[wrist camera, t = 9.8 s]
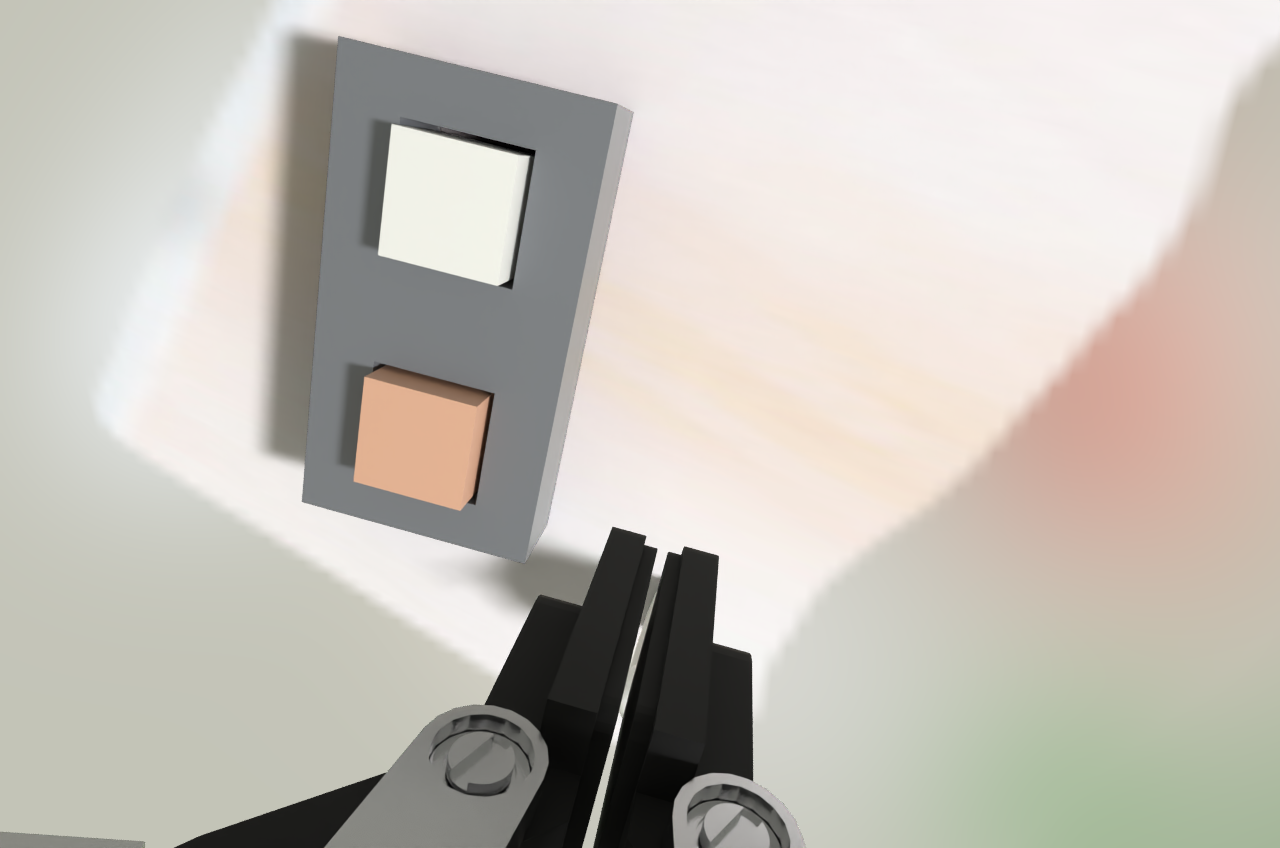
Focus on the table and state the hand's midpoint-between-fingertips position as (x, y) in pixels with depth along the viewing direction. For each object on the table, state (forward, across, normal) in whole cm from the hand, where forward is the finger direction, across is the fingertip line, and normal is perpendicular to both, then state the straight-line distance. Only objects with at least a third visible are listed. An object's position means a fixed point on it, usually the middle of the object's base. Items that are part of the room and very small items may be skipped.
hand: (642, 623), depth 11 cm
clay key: (+25, +12, +9) cm, 29 cm away
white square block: (+25, +12, -3) cm, 28 cm away
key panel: (+27, +12, +3) cm, 30 cm away
